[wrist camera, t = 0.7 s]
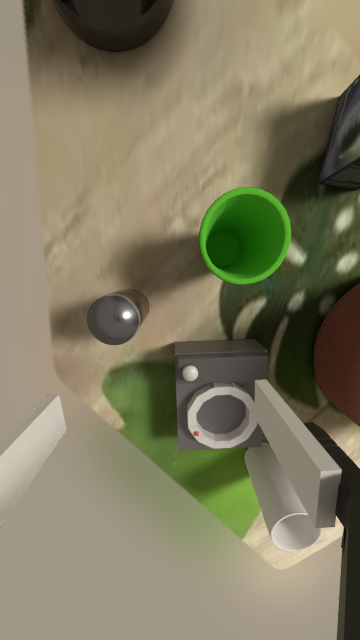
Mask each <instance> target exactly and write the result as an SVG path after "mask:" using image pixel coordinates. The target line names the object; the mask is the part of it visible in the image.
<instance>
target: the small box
mask: <svg viewBox="0 0 360 640" xmlns="http://www.w3.org/2000/svg"><path fill="white" fill-rule="evenodd" d="M318 184H323V185H328V186H334V187H340V188H346V189H352V190H359V189H360V75H359V76H358V77H357V78H356V79H355V80H354V82H353V83H352V84H351V85H350V86H349V87H348V88H347V89H346V90H345V91H344V92H343V93H342V94H341V95H340V97H339V101H338V105H337V109H336V113H335V117H334V121H333V125H332V129H331V133H330V137H329V141H328V144H327V148H326V152H325V156H324V160H323V164H322V168H321V172H320V176H319V180H318Z"/></svg>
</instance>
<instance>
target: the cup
mask: <svg viewBox="0 0 360 640" xmlns="http://www.w3.org/2000/svg"><path fill="white" fill-rule="evenodd" d="M290 238H291V228H290V220H289V218H288V215H287V212H286V210H285V208H284V207H283V206H282V204H281V203H280V201H279V200H278V199H276V198H275V197H274V196H273V195H272V194H270V193H268V192H266V191H264V190H261V189H259V188H252V187H244V188H237V189H234V190H232V191H229V192H227V193H225V194H223V195H222V196H221V197H219V198H218V199H217V200H215V202H214V203H213V204H212V205H211V206H210V208H209V209H208V210H207V212H206V214H205V216H204V218H203V220H202V223H201V227H200V232H199V246H200V251H201V255H202V258H203V260H204V262H205V264H206V266H207V267H208V268H209V269H210V270H211V272H212V273H213V274H214V275H216V276H217V277H218V278H220V279H221V280H223V281H226V282H228V283H231V284H238V285H247V284H253V283H256V282H259V281H261V280H263V279H265V278H266V277H268V276H269V275H271V274H272V273H273V272H274V271H275V270H276V269H277V268H278V267H279V266H280V264H281V263H282V261H283V259H284V258H285V256H286V254H287V251H288V248H289V245H290Z"/></svg>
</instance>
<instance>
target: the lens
mask: <svg viewBox="0 0 360 640" xmlns="http://www.w3.org/2000/svg"><path fill="white" fill-rule="evenodd" d="M148 312H149V303H148V300H147V298H146V297H145V295H144V294H143V293H141V292H140V291H138V290H135V289H126V290H123V291H120V292H117V293H114V294H111V295H107V296H104V297H102V298H100V299H98V300H97V301H95V302H94V303H93V304H92V306H91V307H90V309H89V312H88V315H87V322H88V327H89V329H90V331H91V333H92V334H93V335H94V337H95V338H97V339H98V340H99V341H101V342H103V343H105V344H109V345H120V344H123V343H125V342H127V341H129V340H130V339H131V338H132V337H133V336H134V335H135V334H136V332H137V330H138V329H139V327H140V325H141V324H142V322H143V321H144V319H145V318H146V316H147V314H148Z"/></svg>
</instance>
